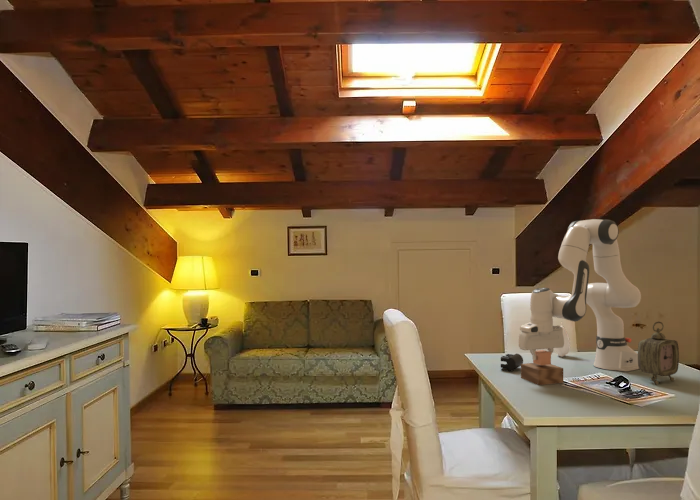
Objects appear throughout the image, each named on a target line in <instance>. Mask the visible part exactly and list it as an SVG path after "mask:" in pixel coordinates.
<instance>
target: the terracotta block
mask: <svg viewBox="0 0 700 500" xmlns="http://www.w3.org/2000/svg"><path fill="white" fill-rule="evenodd" d="M535 354H536V356H538V360H533V359H532V363H536V364H539V365H548V364H552V354H551V352H548V350H546V349H537V350H536V352H535Z"/></svg>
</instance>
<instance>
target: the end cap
mask: <svg viewBox="0 0 700 500" xmlns="http://www.w3.org/2000/svg"><path fill="white" fill-rule="evenodd" d="M500 361H501V362H504V363H506V364H504V363H500V371H501V372H502V371H503V372H509V373H510V372H513V371H514V370H516V369H518V368H521V364H524V357H523V356H522V355H521V354H519V353H515V354H512V353H511V354H510V353H507V354H505V355H502V356H501V357H500Z"/></svg>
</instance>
